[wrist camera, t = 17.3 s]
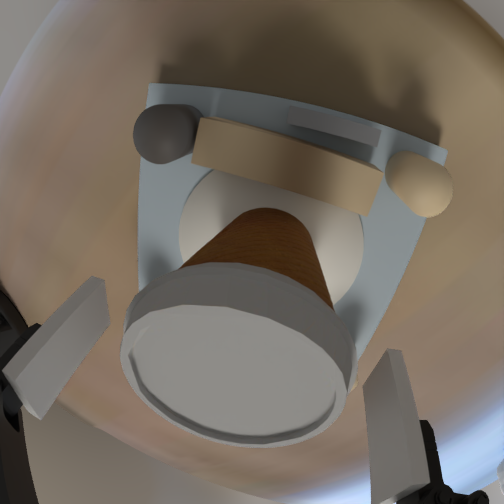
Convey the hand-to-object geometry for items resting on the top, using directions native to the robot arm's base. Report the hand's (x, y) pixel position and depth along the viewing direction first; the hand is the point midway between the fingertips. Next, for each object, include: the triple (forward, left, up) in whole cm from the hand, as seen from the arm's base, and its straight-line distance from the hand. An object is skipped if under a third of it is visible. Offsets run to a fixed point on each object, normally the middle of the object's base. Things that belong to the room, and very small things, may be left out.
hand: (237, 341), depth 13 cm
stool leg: (-2, +7, -9) cm, 11 cm away
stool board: (0, 0, -11) cm, 11 cm away
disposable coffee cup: (0, 0, -9) cm, 9 cm away
